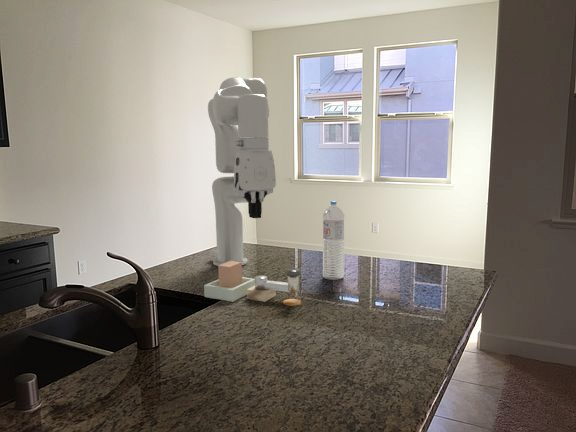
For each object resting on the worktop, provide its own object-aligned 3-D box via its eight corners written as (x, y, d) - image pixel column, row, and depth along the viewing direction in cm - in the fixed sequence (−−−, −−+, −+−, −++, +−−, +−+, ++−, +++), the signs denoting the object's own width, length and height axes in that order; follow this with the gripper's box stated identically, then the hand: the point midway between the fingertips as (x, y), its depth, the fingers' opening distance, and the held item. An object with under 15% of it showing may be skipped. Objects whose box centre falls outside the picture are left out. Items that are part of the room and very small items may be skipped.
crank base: (246, 299, 140) (246, 289, 139) (258, 293, 145) (258, 284, 144) (294, 307, 132) (294, 297, 132) (305, 301, 137) (305, 291, 137)
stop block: (219, 292, 143) (218, 265, 142) (231, 286, 148) (230, 260, 147) (230, 294, 141) (229, 266, 140) (242, 288, 146) (241, 262, 145)
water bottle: (344, 280, 157) (345, 202, 153) (323, 280, 157) (323, 202, 153) (342, 274, 163) (343, 199, 159) (322, 274, 164) (322, 200, 160)
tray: (204, 296, 142) (204, 285, 141) (229, 285, 152) (228, 274, 152) (232, 302, 137) (232, 290, 137) (256, 290, 147) (255, 279, 147)
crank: (252, 288, 139) (251, 268, 138) (258, 284, 143) (258, 264, 142) (297, 294, 134) (297, 273, 133) (302, 290, 137) (302, 269, 136)
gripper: (235, 145, 115) (237, 222, 118) (286, 144, 124) (287, 216, 127) (219, 145, 121) (222, 218, 124) (269, 144, 130) (270, 213, 133)
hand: (255, 217), depth 126 cm, fingers closed
